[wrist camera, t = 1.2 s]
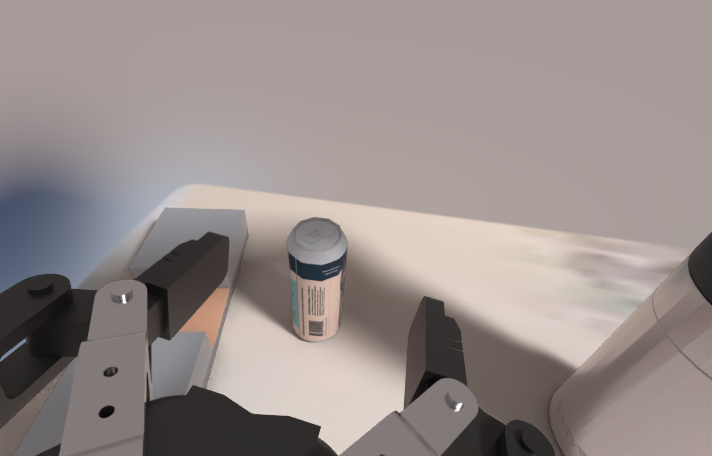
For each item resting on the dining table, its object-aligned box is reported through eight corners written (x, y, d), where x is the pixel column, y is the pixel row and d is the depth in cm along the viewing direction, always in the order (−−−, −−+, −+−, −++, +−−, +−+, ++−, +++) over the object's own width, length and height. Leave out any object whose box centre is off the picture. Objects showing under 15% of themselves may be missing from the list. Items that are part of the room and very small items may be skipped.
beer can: (350, 323, 35) (360, 233, 27) (316, 355, 32) (316, 264, 24) (317, 296, 37) (318, 206, 29) (282, 323, 34) (272, 232, 26)
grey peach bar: (248, 235, 43) (244, 209, 41) (178, 485, 24) (162, 467, 21) (174, 233, 43) (165, 207, 40) (37, 491, 23) (2, 472, 20)
